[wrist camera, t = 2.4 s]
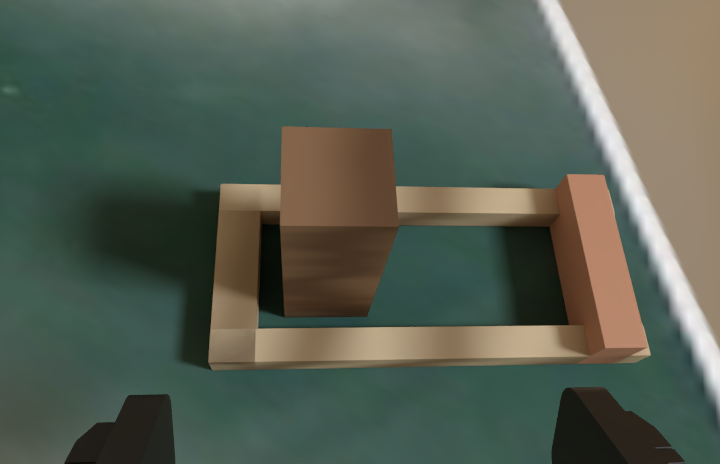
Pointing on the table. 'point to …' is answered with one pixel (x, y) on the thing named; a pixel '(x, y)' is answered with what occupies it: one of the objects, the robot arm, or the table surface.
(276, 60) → the table surface
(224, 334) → the frame
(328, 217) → the block
